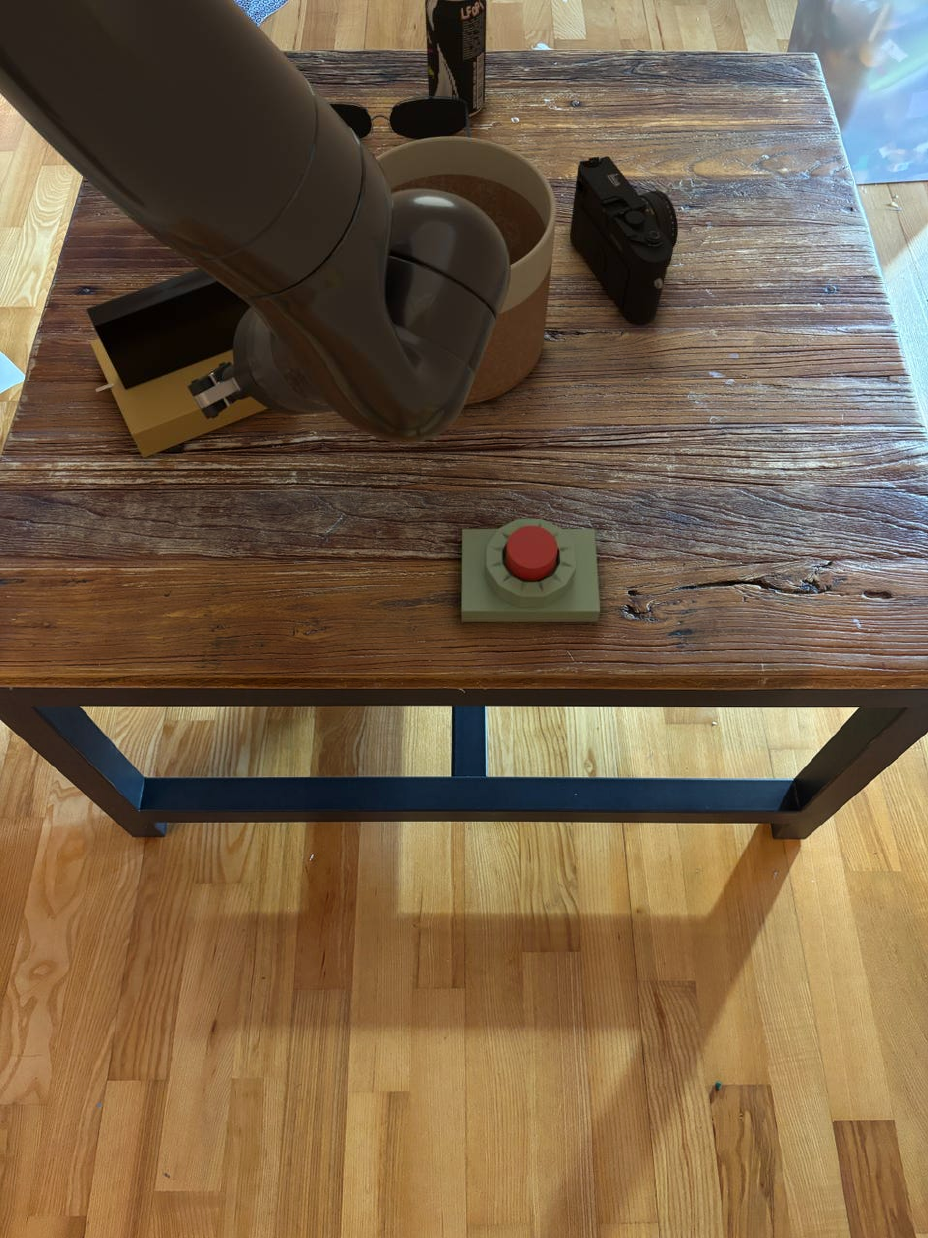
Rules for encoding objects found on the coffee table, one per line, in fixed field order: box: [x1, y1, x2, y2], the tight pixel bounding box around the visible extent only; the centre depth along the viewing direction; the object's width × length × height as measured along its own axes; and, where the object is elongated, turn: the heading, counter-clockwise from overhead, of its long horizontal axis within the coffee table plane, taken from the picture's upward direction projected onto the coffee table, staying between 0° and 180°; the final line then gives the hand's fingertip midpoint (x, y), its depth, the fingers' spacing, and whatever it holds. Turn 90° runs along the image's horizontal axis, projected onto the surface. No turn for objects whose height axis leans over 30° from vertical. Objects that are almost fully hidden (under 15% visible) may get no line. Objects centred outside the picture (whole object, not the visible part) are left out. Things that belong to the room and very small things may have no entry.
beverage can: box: [424, 0, 488, 118], centre depth 89 cm, size 6×6×12 cm
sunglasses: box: [327, 95, 472, 140], centre depth 87 cm, size 17×15×5 cm
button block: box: [460, 518, 601, 623], centre depth 68 cm, size 10×7×4 cm
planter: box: [375, 136, 557, 406], centre depth 74 cm, size 16×16×14 cm
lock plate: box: [89, 337, 269, 459], centre depth 77 cm, size 16×11×3 cm
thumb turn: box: [85, 268, 251, 389], centre depth 72 cm, size 12×2×7 cm, turn 118°
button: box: [506, 526, 558, 581], centre depth 66 cm, size 4×4×2 cm
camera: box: [569, 155, 679, 325], centre depth 80 cm, size 14×7×8 cm, turn 24°
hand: (247, 367), depth 71 cm, fingers closed
